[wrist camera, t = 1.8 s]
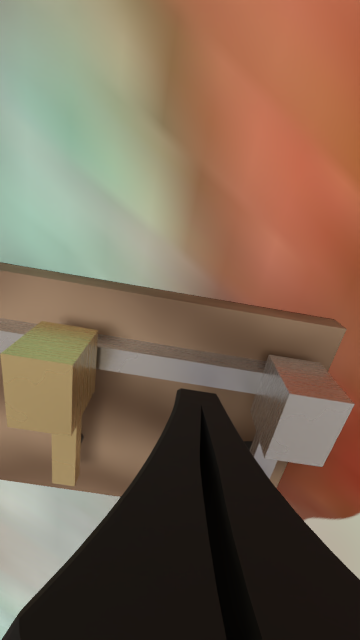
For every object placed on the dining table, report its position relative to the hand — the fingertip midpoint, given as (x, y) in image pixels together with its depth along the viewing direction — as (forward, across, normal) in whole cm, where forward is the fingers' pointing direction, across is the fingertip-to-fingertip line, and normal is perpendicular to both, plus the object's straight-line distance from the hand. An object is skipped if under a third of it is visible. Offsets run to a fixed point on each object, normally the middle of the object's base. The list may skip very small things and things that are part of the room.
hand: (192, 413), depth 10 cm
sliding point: (+4, +6, +4) cm, 8 cm away
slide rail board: (+6, +4, +5) cm, 8 cm away
